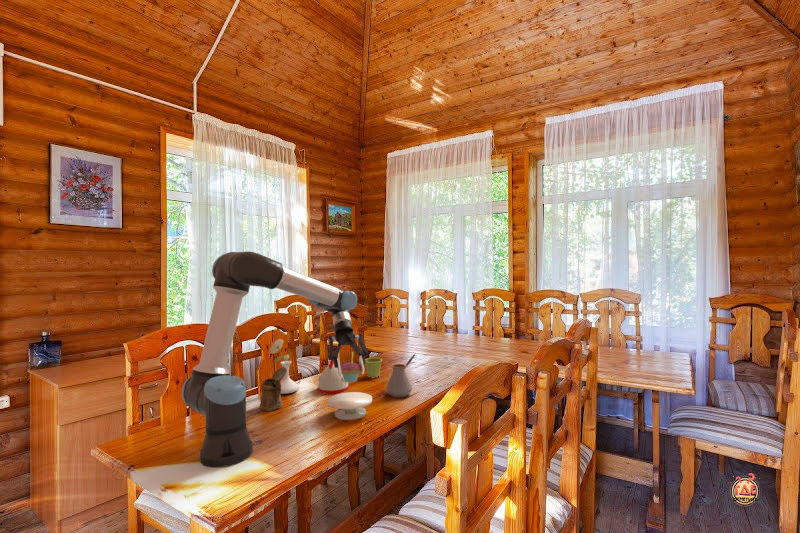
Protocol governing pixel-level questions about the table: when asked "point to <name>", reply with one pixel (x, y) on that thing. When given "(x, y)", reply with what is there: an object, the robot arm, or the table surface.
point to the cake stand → (350, 405)
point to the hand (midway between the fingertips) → (351, 373)
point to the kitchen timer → (331, 381)
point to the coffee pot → (399, 381)
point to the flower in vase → (286, 382)
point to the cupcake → (350, 370)
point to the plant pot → (373, 366)
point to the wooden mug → (272, 392)
